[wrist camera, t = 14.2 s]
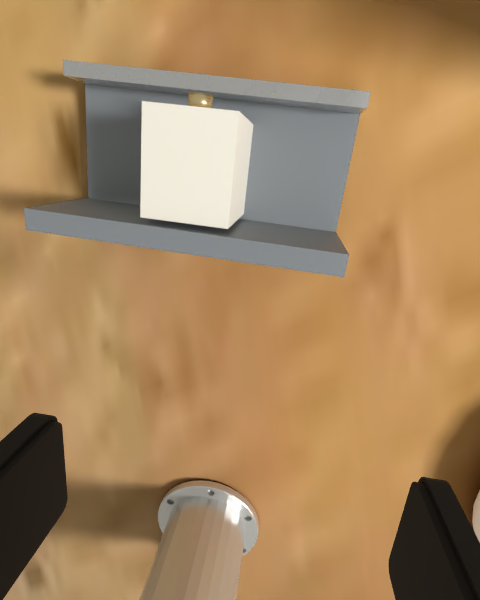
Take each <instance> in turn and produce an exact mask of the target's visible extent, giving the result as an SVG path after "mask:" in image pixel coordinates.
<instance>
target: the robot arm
mask: <svg viewBox="0 0 480 600" xmlns="http://www.w3.org/2000/svg"><path fill="white" fill-rule="evenodd" d="M66 503H67V485H66V472H65V459H64V445H63V432H62V425H61V423H59V422H58V421H57V418H56V417H55V416H51V415H45V414H39V413H32V414H31V415H29V416H28V417H27V418H26V419H25V420H24V421H23V422H21V423H20V424H19V425H18V426H17V427H16V428H15V429H14V430H13V431H11V432H10V433H9V434H8V435H7V436H6V437H5V438H4V439H3V440H1V441H0V600H3V598H4V597H5V596H6V594H7V593H8V591H9V590H10V588H11V587H12V585H13V584H14V582H15V581H16V580H17V578H18V577H19V575H20V574H21V572H22V571H23V569H24V568H25V567H26V565H27V564H28V562H29V561H30V559H31V558H32V556H33V555H34V553H35V552H36V551H37V549H38V548H39V546H40V545H41V543H42V542H43V540H44V539H45V537H46V536H47V535H48V533H49V532H50V530H51V529H52V527H53V526H54V524H55V523H56V521H57V520H58V519H59V517H60V516H61V514H62V513H63V511H64V509H65V506H66ZM158 523H159V527H160V529H161V531H162V533H163V535H162V538H161V541H160V544H159V546H158V549H157V552H156V555H155V558H154V560H153V563H152V566H151V569H150V571H149V574H148V577H147V580H146V583H145V585H144V588H143V591H142V594H141V596H140V599H139V600H236V597H237V590H238V583H239V576H240V568H241V561H242V556H244V555H246V554H247V553H248V552H249V551H250V550H251V549H252V548H253V546H254V545H255V543H256V541H257V538H258V530H259V523H258V518H257V514H256V512H255V510H254V508H253V507H252V505H251V504H250V503H249V502H248V501H247V499H246V498H245V497H243V496H242V495H241V494H240V493H238V492H237V491H235V490H233V489H232V488H230V487H227V486H225V485H222V484H220V483H216V482H212V481H202V480H199V481H189V482H185V483H181V484H179V485H177V486H175V487H173V488H172V489H171V490H169V491H168V492H167V494H166V495H165V496H164V498H163V500H162V502H161V504H160V507H159V510H158ZM389 574H390V579H391V583H392V587H393V591H394V595H395V599H396V600H480V542H479V540H478V538H477V536H476V534H475V533H474V531H473V529H472V527H471V525H470V523H469V521H468V519H467V517H466V515H465V513H464V511H463V509H462V507H461V505H460V504H459V502H458V500H457V498H456V496H455V494H454V492H453V490H452V488H451V486H450V485H449V483H448V482H447V481H444V480H438V479H431V478H425V477H421V478H420V479H419V481H418V482H413V483H412V484H411V487H410V490H409V494H408V497H407V500H406V504H405V507H404V510H403V514H402V517H401V521H400V524H399V527H398V531H397V534H396V537H395V541H394V544H393V547H392V551H391V554H390V558H389Z"/></svg>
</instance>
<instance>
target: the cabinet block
mask: <svg viewBox="0 0 480 600" xmlns="http://www.w3.org/2000/svg"><path fill="white" fill-rule="evenodd" d="M212 106H213V95H210V94H206V93H200V92H189V95H188V106H186V105H176V104H166V103H157V102H147V101H142V125H141V202H140V217H142V218H149V219H157V220H164V221H172V222H179V223H187V224H194V225H201V226H209V227H216V228H224V229H228V228H229V227H231V226H232V225H233V224H234V223H235V222H236V221H237V220H238V219H239V218H240V217H241V216H242V215H243V214H244V207H245V197H246V188H247V179H248V170H249V161H250V152H251V143H252V134H253V124H252V123H251V122H250V121H249V120H248V119H247V118H246V117H245V116H244V115H243V114H242V113H241V112H240V111H234V110H224V109H215V108H212Z"/></svg>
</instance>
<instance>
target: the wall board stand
mask: <svg viewBox="0 0 480 600" xmlns="http://www.w3.org/2000/svg"><path fill="white" fill-rule="evenodd" d="M63 74H64V76H66V77H68V78H71V79H74V80H76V81H79V82H81V83H84V84H85V100H86V135H87V170H88V198H84V199H78V200H71V201H65V202H59V203H53V204H46V205H40V206H34V207H28V208H24V214H25V226H26V230H30V231H36V232H43V233H50V234H57V235H63V236H70V237H77V238H83V239H90V240H97V241H104V242H110V243H117V244H124V245H130V246H137V247H144V248H151V249H157V250H164V251H171V252H178V253H184V254H191V255H198V256H204V257H211V258H218V259H225V260H231V261H238V262H245V263H251V264H258V265H265V266H272V267H278V268H285V269H292V270H298V271H305V272H312V273H319V274H325V275H332V276H339V277H344V275H345V271H346V266H347V262H348V258H349V254H348V252H347V250H346V249H345V247H344V245H343V243H342V242H341V240H340V238H339V237H338V235H337V233H336V228H337V223H338V218H339V214H340V209H341V204H342V199H343V194H344V189H345V185H346V180H347V175H348V170H349V165H350V160H351V156H352V151H353V146H354V141H355V136H356V131H357V126H358V122H359V117H360V114H361V113H362V112H363V111H364V110H366V109H367V107H368V102H369V97H370V93H371V92H368V91H358V90H348V89H339V88H329V87H319V86H310V85H300V84H290V83H281V82H271V81H261V80H252V79H242V78H232V77H223V76H213V75H203V74H194V73H184V72H174V71H165V70H155V69H146V68H136V67H126V66H117V65H107V64H97V63H88V62H78V61H68V60H63ZM189 92H200V93H206V94H210V95H213V106H212V108H215V109H224V110H234V111H240V112H241V113H242V114H243V115H244V116H245V117H246V118H247V119H248V120H249V121H250V122H251V123H252V124H253V134H252V143H251V152H250V161H249V170H248V179H247V188H246V197H245V207H244V214H243V215H242V216H241V217H240V218H239V219H238V220H237V221H236V222H235V223H234V224H233V225H232V226H231V227H229V228H228V229H224V228H216V227H209V226H201V225H194V224H187V223H179V222H172V221H164V220H157V219H149V218H142V217H140V202H141V125H142V101H147V102H157V103H166V104H176V105H186V106H188V95H189Z"/></svg>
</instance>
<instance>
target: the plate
mask: <svg viewBox="0 0 480 600" xmlns="http://www.w3.org/2000/svg"><path fill="white" fill-rule="evenodd" d="M472 523H473V528H474V532H475V534H476V536H477V538H478V540H479V542H480V490H479V493H478V495H477V498H476V500H475V503H474V505H473V518H472Z"/></svg>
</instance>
